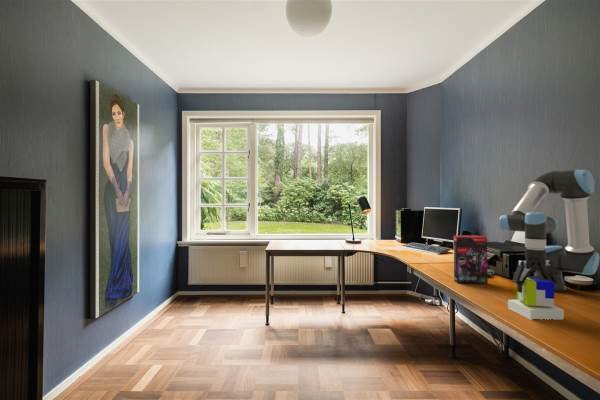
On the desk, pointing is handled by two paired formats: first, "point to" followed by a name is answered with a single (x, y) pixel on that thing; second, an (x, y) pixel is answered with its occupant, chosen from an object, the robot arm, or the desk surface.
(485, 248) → the graphics card box
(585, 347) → the desk surface
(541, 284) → the puzzle toy
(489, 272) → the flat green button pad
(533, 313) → the plinth
